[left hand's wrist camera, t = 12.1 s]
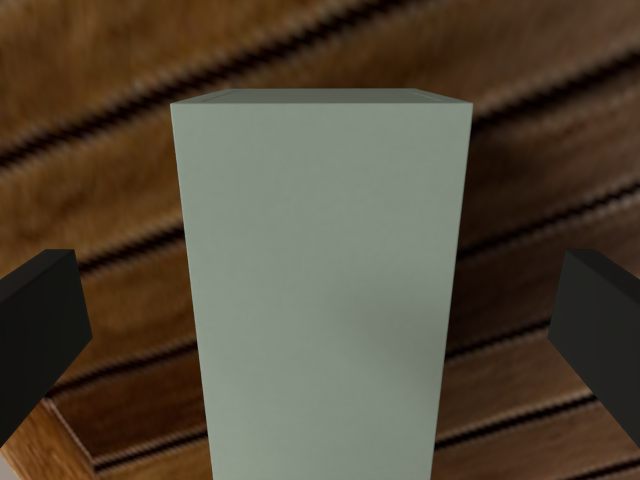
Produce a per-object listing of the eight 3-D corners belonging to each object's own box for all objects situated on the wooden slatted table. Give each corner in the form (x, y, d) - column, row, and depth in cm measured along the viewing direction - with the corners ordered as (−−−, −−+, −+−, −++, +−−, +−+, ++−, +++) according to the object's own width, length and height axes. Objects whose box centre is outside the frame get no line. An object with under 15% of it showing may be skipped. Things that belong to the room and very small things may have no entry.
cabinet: (394, 377, 36) (427, 511, 25) (247, 377, 36) (216, 511, 25) (415, 88, 28) (474, 102, 17) (227, 88, 28) (169, 103, 17)
